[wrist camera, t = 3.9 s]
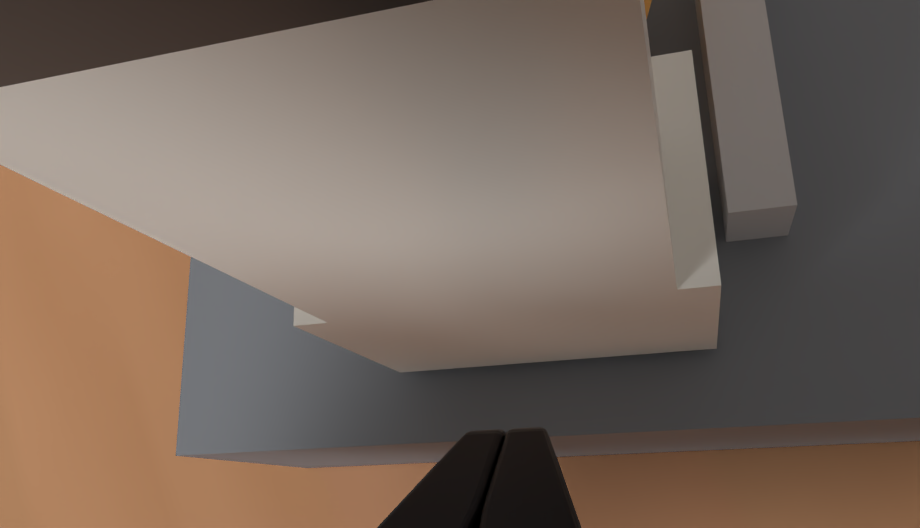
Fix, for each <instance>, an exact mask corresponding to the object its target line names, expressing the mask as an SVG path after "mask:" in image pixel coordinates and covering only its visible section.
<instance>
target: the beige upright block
mask: <svg viewBox="0 0 920 528" xmlns="http://www.w3.org/2000/svg"><path fill="white" fill-rule="evenodd" d="M0 165H2V166H4V167H6V168H9V169H11V170H13V171H15V172H17V173H19V174H21V175H23V176H25V177H27V178H29V179H31V180H33V181H35V182H37V183H40V184H42V185H44V186H46V187H48V188H50V189H52V190H54V191H56V192H58V193H60V194H62V195H64V196H66V197H68V198H71V199H73V200H75V201H77V202H79V203H81V204H83V205H85V206H87V207H89V208H91V209H93V210H95V211H97V212H100V213H102V214H104V215H106V216H108V217H110V218H112V219H114V220H116V221H118V222H120V223H122V224H124V225H126V226H128V227H131V228H133V229H135V230H137V231H139V232H141V233H143V234H145V235H147V236H149V237H151V238H153V239H155V240H157V241H159V242H162V243H164V244H166V245H168V246H170V247H172V248H174V249H176V250H178V251H180V252H182V253H184V254H186V255H188V256H191V257H193V258H195V259H197V260H199V261H201V262H203V263H205V264H207V265H209V266H211V267H213V268H215V269H217V270H219V271H222V272H224V273H226V274H228V275H230V276H232V277H234V278H236V279H238V280H240V281H242V282H244V283H246V284H248V285H250V286H253V287H255V288H257V289H259V290H261V291H263V292H265V293H267V294H269V295H271V296H273V297H275V298H277V299H279V300H282V301H284V302H286V303H288V304H290V305H292V306H294V322H293V326H295V327H297V328H299V329H301V330H304V331H306V332H308V333H311V334H313V335H315V336H317V337H320V338H322V339H324V340H327V341H329V342H331V343H334V344H336V345H338V346H340V347H343V348H345V349H347V350H350V351H352V352H354V353H357V354H359V355H361V356H363V357H366V358H368V359H370V360H373V361H375V362H377V363H379V364H382V365H384V366H386V367H389V368H391V369H393V370H396V371H398V372H400V373H401V372H414V371H428V370H441V369H454V368H467V367H481V366H494V365H507V364H520V363H533V362H547V361H560V360H573V359H586V358H600V357H613V356H626V355H639V354H653V353H666V352H679V351H692V350H706V349H717V337H718V323H719V310H720V297H721V279H720V271H719V263H718V255H717V247H716V239H715V231H714V223H713V215H712V207H711V199H710V191H709V183H708V175H707V167H706V160H705V152H704V144H703V136H702V128H701V120H700V112H699V104H698V96H697V88H696V80H695V72H694V64H693V56H692V50H688V51H682V52H676V53H670V54H664V55H658V56H653V57H651V54H650V46H649V37H648V29H647V21H646V12H645V4H644V0H0Z"/></svg>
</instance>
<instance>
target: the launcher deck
mask: <svg viewBox="0 0 920 528" xmlns="http://www.w3.org/2000/svg"><path fill="white" fill-rule="evenodd" d="M646 21H647V29H648V37H649V46H650V54H651V57H653V56H658V55H664V54H670V53H676V52H682V51H688V50H692V56H693V64H694V72H695V80H696V88H697V96H698V104H699V112H700V120H701V128H702V136H703V144H704V152H705V160H706V167H707V175H708V183H709V191H710V199H711V207H712V215H713V223H714V231H715V239H716V247H717V255H718V263H719V271H720V279H721V297H720V310H719V323H718V337H717V349H706V350H692V351H679V352H666V353H653V354H639V355H626V356H613V357H600V358H586V359H573V360H560V361H547V362H533V363H520V364H507V365H494V366H481V367H467V368H454V369H441V370H428V371H414V372H401V373H400V372H398V371H396V370H393V369H391V368H389V367H386V366H384V365H382V364H379V363H377V362H375V361H373V360H370V359H368V358H366V357H363V356H361V355H359V354H357V353H354V352H352V351H350V350H347V349H345V348H343V347H340V346H338V345H336V344H334V343H331V342H329V341H327V340H324V339H322V338H320V337H317V336H315V335H313V334H311V333H308V332H306V331H304V330H301V329H299V328H297V327H295V326H293V322H294V306H292V305H290V304H288V303H286V302H284V301H282V300H279V299H277V298H275V297H273V296H271V295H269V294H267V293H265V292H263V291H261V290H259V289H257V288H255V287H253V286H250V285H248V284H246V283H244V282H242V281H240V280H238V279H236V278H234V277H232V276H230V275H228V274H226V273H224V272H222V271H219V270H217V269H215V268H213V267H211V266H209V265H207V264H205V263H203V262H201V261H199V260H197V259H195V258H193V257H191V262H190V275H189V289H188V302H187V315H186V328H185V341H184V355H183V368H182V381H181V394H180V407H179V421H178V434H177V447H176V456H185V457H196V458H206V459H217V460H228V461H238V462H249V463H260V464H270V465H281V466H292V467H302V468H316V467H339V466H362V465H384V464H407V463H429V462H439V461H440V460H441V459H442V457H443V456H444V455H445V454H446V453H447V452H448V451H449V450H450V449H451V448H452V447H453V446H454V445H455V444H456V442H457V441H458V440H459V439H460V438H461V437H462V436H463V435H464V434H466V433H467V432H469V431H476V430H494V429H501V430H503V431H504V432H506V433H507V432H508V431H509V430H510V429H513V428H530V427H543V428H545V429H546V430H547V432H548V435H549V437H550V440H551V443H552V446H553V449H554V451H555V454H556V457H565V456H588V455H610V454H633V453H655V452H678V451H701V450H723V449H746V448H768V447H791V446H814V445H836V444H859V443H881V442H904V441H920V0H652V1H651V5H650V9H649V12H648V16H647V19H646Z"/></svg>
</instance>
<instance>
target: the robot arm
mask: <svg viewBox="0 0 920 528" xmlns="http://www.w3.org/2000/svg"><path fill="white" fill-rule="evenodd" d="M377 528H581V525H580V522H579V520H578V517H577V514H576V511H575V508H574V505H573V503H572V500H571V497H570V494H569V491H568V488H567V486H566V483H565V480H564V477H563V474H562V471H561V469H560V466H559V463H558V460H557V457H556V454H555V451H554V449H553V446H552V443H551V440H550V437H549V435H548V432H547V430H546V429H545V428H543V427H530V428H513V429H510V430H509V431H508V432H507V433H506V432H504V431H503V430H501V429H494V430H476V431H469V432H467V433H466V434H464V435H463V436H462V437H461V438H460V439H459V440H458V441H457V442H456V444H455V445H454V446H453V447H452V448H451V449H450V450H449V451H448V452H447V453H446V454H445V455H444V456H443V457H442V459H441V460H440V461H439V462H438V463H437V464H436V465H435V466H434V467H433V468H432V469H431V470H430V471H429V473H428V474H427V475H426V476H425V477H424V478H423V479H422V480H421V481H420V482H419V483H418V484H417V485H416V486H415V488H414V489H413V490H412V491H411V492H410V493H409V494H408V495H407V496H406V497H405V498H404V499H403V500H402V501H401V503H400V504H399V505H398V506H397V507H396V508H395V509H394V510H393V511H392V512H391V513H390V514H389V515H388V517H387V518H386V519H385V520H384V521H383V522H382V523H381V524H380V525H379V526H378V527H377Z"/></svg>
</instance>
